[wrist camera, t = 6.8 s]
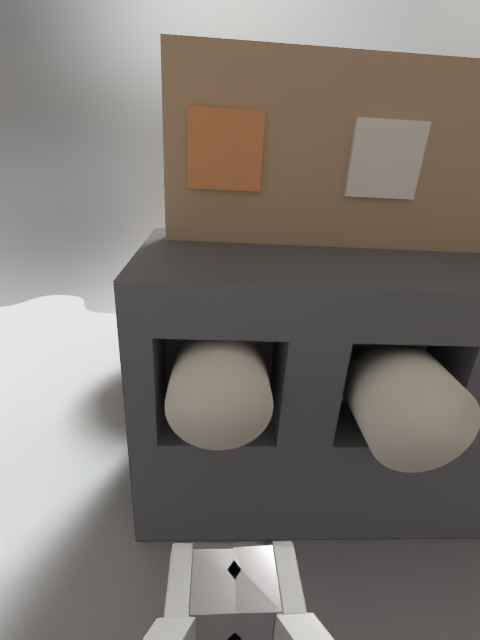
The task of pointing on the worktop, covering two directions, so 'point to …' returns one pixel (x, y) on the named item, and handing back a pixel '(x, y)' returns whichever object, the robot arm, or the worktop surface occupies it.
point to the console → (305, 282)
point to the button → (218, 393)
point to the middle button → (409, 407)
